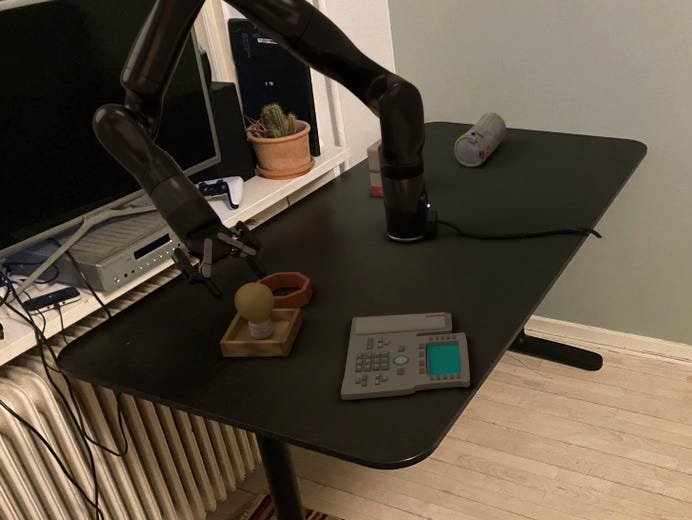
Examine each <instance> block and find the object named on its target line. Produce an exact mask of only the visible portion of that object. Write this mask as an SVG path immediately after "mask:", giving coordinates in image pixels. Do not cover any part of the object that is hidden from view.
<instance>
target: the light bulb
mask: <svg viewBox="0 0 692 520" xmlns="http://www.w3.org/2000/svg"><path fill="white" fill-rule="evenodd" d="M274 296H275V295H274V294H273V291H271V290H270V289H269V288H268V287H267V286H265V285H263V284H260V283H256V282H249V283H245V284H243V285H242V286H241V287H240V288H239V289H237V291H236V292H235V295H234V306H235V308H236V311H237V312H239V313H240V314H241V315H242V316H243V317H244V318H246V319H247V320H249V322H248V324H249V327H250V331H251V335H252V337H254V338H256V339H266V338H268V337H269V336H270V335H271V334H272V333H273V328H272V324H271V319H270V317H269V315H270V314H271V312H272V310H273V307H274Z"/></svg>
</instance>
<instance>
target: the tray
mask: <svg viewBox="0 0 692 520" xmlns="http://www.w3.org/2000/svg"><path fill="white" fill-rule="evenodd" d="M269 317H270V319H271V324H272V328H273V333H272V334H271V335H270V336H269V337H268V338H266V339H256V338H254V337H252V335H251V331H250V327H249V324H248V322H249V320H247V319H246V318H244V317H243V316H242V315H241V314H240V313H239V312H238V311H237V313H236V314H235V316H234V317H233V319H232V321H231V322H230V325H229V327H228V328H227V330H226V332H225V333H224V335H223V337H222V338H221V339H220V342H219V346H220V350H221V353H222V356H223V358H247V357H249V358H253V357H254V358H255V357H289V355H290V353H291V350H292V348H293V346H294V343H295V342H296V341H295V340H296V339H297V337H298V333H299V331H300V329H301V326H302V325H303V321H304V320H303V315H302V311H301V307H299V308H292V309H273V310H272V312H271V314H270V315H269Z"/></svg>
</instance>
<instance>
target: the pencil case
mask: <svg viewBox="0 0 692 520" xmlns="http://www.w3.org/2000/svg"><path fill="white" fill-rule="evenodd" d="M506 133H507V125H506V123H505V120H504V119H503V118H502V116H500V114H497V112H487V113H485V114H482V116H481V117H480V118H479V120H478V121H477V122H476V123H475V124H474V125H473V126H472V127H471V128H470V129H469V130H468V131H466V132H465V133H463V134H462V135H460V136H459V137H458V138H457V139H456V141H455V142H454V148H453V151H454V155H455V158H456V160H457V161H458V162H459V163H460V164H461V165H462V166H464V167H467V168H475V167H479V166H481V165H483V164H484V163H485V162H486V160H487V159H488V158H489V156H490V155H491V154H492V153H493V152H494V151H495V150H496V148H497V147H498V146H499V145H500V144H501V142H502V141H503V140H504V139H505V137H506V135H507V134H506Z"/></svg>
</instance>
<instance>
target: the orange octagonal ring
mask: <svg viewBox="0 0 692 520" xmlns="http://www.w3.org/2000/svg"><path fill="white" fill-rule="evenodd" d="M255 283H260V284H263V285H265V286H267V287H268V288H269V289H270V290H271V292H273V291H276V290H278V289H283V288H285V289H286V288H288V289H289V288H299V290H296V291H294V292H291V293H289V294H287V295H278V296H277V295H273V296H274V307H273V309H292V308H302V307H305V306H306V305H308V304H309V302H310V300H311V298H312V296H313V293H314V292H313V286H312V281H311V278H309V277H307V276H306V275H304V274H302V273H301V272H300V271H281V272H274V273H272V274H269V275H266V276H265V278H263V279H261V280H260V279H259V278H258V279H257V280H256V282H255Z"/></svg>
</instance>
